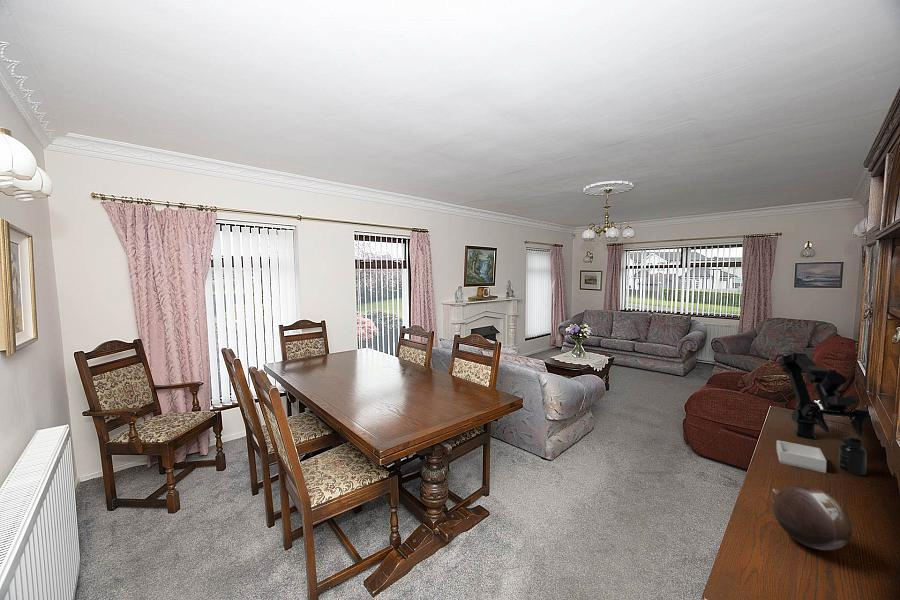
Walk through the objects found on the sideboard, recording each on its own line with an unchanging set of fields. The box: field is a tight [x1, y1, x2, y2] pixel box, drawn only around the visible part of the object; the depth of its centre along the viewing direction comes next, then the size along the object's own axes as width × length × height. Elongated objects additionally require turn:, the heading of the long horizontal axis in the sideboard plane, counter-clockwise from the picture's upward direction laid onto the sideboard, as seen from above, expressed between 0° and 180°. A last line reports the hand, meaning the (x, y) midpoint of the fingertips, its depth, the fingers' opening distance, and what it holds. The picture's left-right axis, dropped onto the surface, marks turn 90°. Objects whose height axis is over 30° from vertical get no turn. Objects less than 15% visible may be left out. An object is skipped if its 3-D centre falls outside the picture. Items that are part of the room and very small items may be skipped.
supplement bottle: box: [838, 436, 868, 476], centre depth 133 cm, size 7×7×12 cm
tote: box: [776, 440, 827, 474], centre depth 141 cm, size 13×13×4 cm
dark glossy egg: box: [772, 484, 853, 551], centre depth 97 cm, size 15×15×15 cm
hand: (843, 433), depth 138 cm, fingers open, 9 cm apart
